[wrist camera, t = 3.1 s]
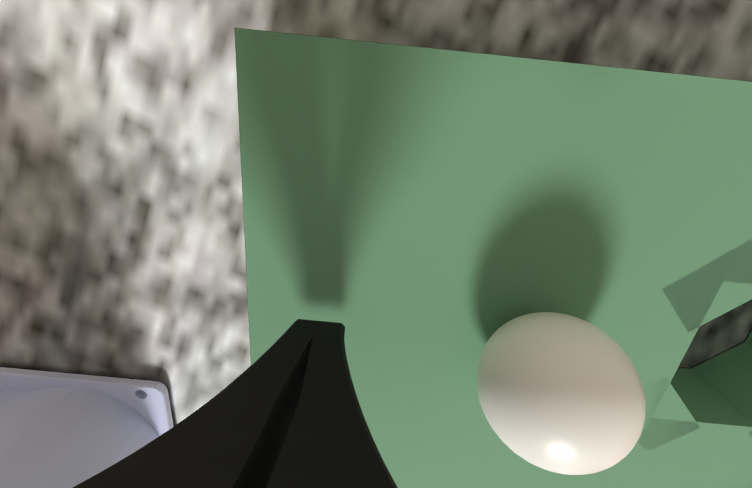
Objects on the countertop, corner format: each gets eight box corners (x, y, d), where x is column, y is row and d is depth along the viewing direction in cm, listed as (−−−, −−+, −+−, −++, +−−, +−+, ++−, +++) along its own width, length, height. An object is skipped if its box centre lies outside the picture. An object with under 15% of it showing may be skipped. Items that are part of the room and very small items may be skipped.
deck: (277, 419, 17) (256, 481, 14) (272, 47, 11) (234, 27, 8) (721, 459, 17) (786, 528, 14) (950, 117, 11) (1134, 121, 9)
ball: (453, 382, 12) (484, 506, 8) (476, 280, 11) (526, 375, 7) (567, 393, 12) (648, 521, 8) (607, 292, 11) (726, 394, 7)
